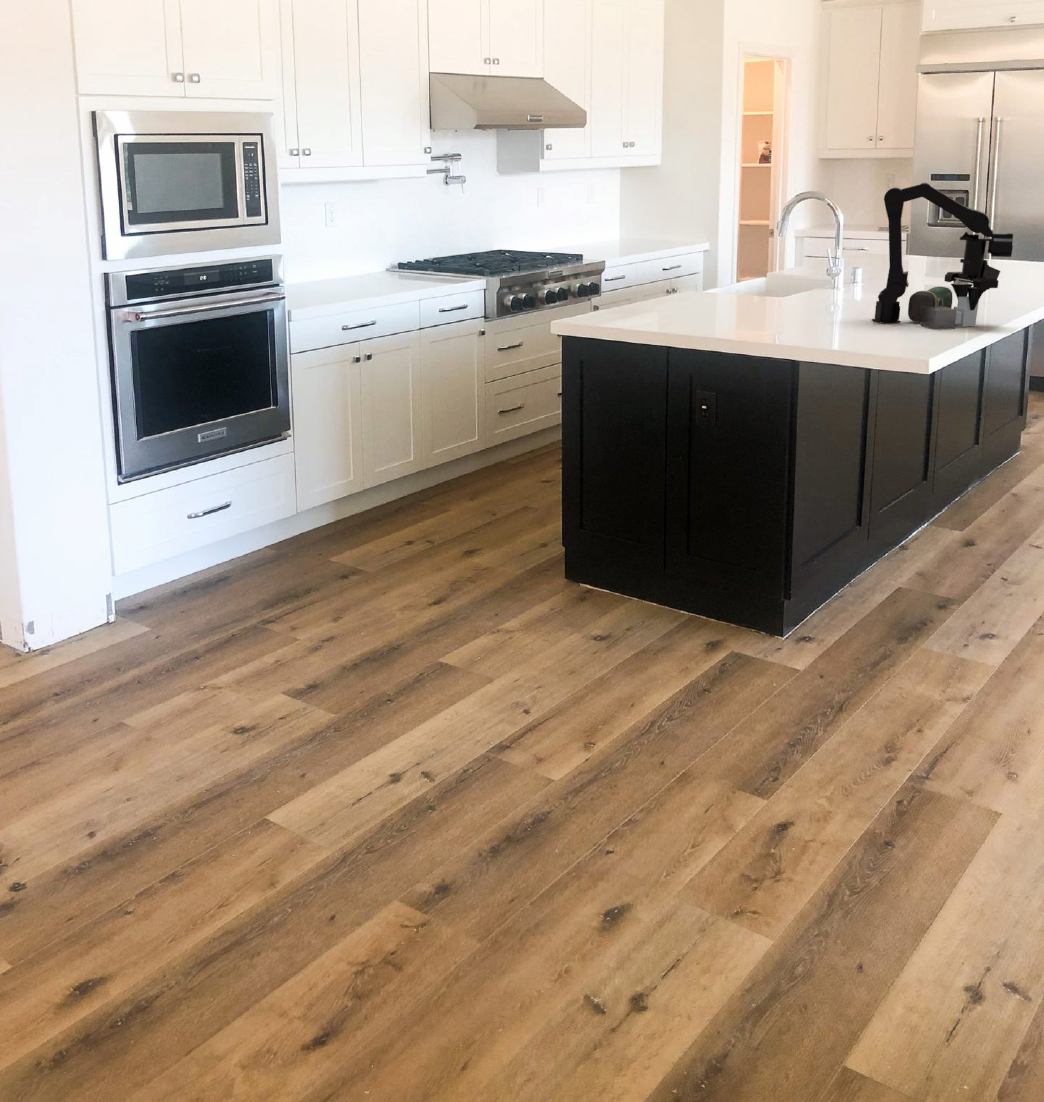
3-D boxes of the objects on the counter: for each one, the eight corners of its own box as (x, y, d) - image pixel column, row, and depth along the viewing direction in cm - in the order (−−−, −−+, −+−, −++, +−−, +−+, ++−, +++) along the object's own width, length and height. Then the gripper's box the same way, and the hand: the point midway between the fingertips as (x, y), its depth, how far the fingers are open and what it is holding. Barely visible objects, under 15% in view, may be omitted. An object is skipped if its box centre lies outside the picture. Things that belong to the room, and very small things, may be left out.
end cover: (945, 327, 360) (948, 299, 357) (934, 324, 365) (937, 297, 362) (976, 326, 363) (980, 298, 360) (965, 323, 368) (968, 296, 365)
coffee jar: (929, 285, 381) (907, 290, 368) (954, 287, 377) (932, 292, 363) (926, 316, 384) (904, 322, 371) (951, 318, 380) (929, 325, 366)
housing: (934, 329, 358) (936, 310, 356) (920, 325, 365) (922, 307, 363) (954, 328, 360) (956, 309, 358) (940, 325, 366) (943, 306, 364)
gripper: (1017, 258, 351) (1010, 312, 357) (978, 252, 368) (971, 304, 374) (984, 259, 349) (977, 314, 354) (946, 253, 366) (940, 305, 371)
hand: (967, 309), depth 363 cm, fingers closed on end cover, 4 cm apart
